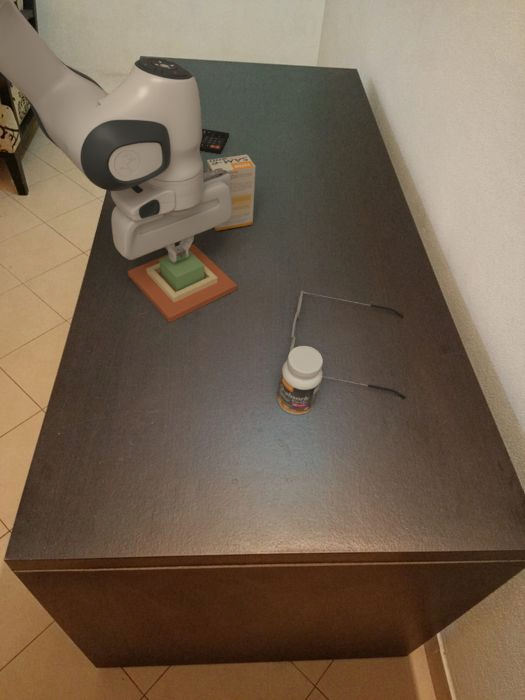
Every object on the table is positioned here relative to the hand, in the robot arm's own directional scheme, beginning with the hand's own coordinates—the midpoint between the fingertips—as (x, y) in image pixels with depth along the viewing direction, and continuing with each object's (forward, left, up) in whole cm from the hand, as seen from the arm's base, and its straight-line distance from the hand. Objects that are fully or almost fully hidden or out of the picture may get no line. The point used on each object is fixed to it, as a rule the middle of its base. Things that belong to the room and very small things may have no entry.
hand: (178, 257), depth 80 cm
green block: (0, 0, -5) cm, 5 cm away
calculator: (+32, +41, -6) cm, 52 cm away
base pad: (0, 0, -6) cm, 6 cm away
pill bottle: (0, -31, -6) cm, 32 cm away
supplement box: (+18, +10, -6) cm, 22 cm away
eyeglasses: (+14, -28, -6) cm, 32 cm away
